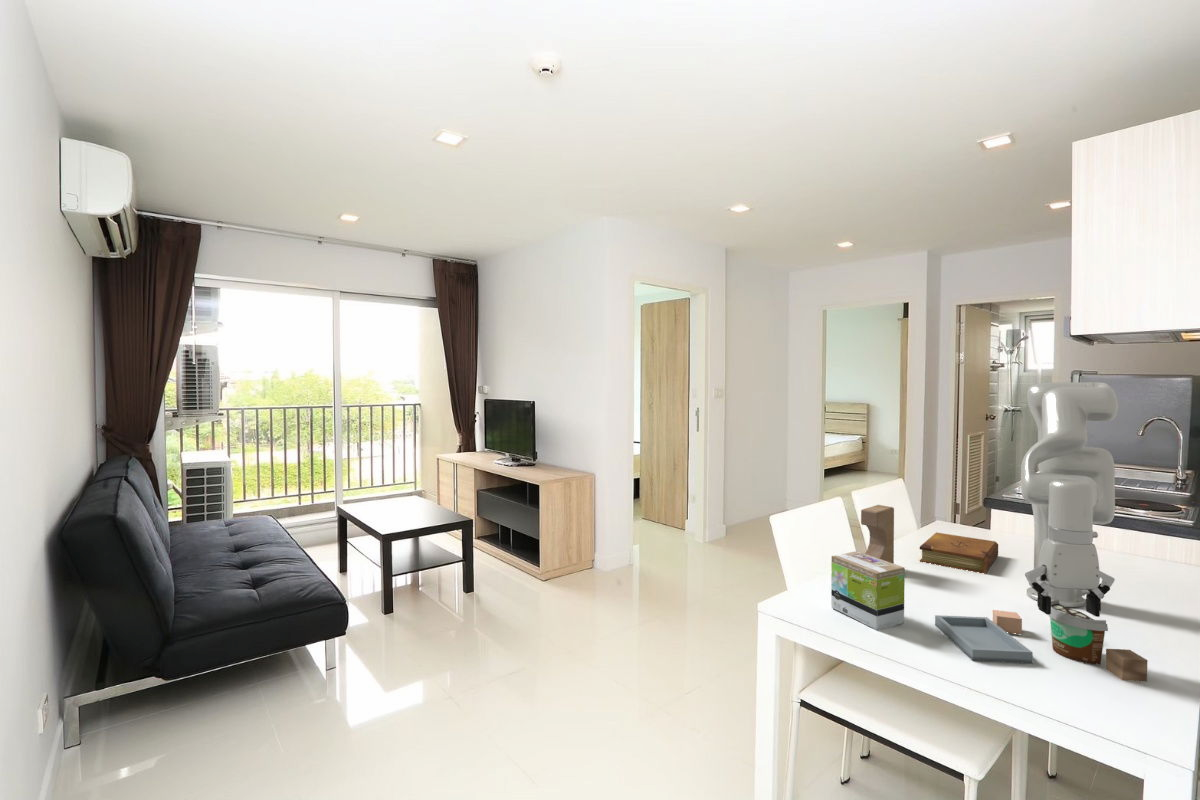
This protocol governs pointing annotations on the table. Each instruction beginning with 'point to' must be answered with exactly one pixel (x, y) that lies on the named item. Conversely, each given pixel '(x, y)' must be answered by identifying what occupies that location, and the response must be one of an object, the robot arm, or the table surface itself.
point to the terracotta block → (1008, 621)
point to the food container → (1076, 634)
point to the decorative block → (880, 531)
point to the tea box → (868, 589)
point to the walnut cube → (1126, 665)
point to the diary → (959, 552)
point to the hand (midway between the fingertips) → (1068, 613)
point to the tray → (983, 639)
